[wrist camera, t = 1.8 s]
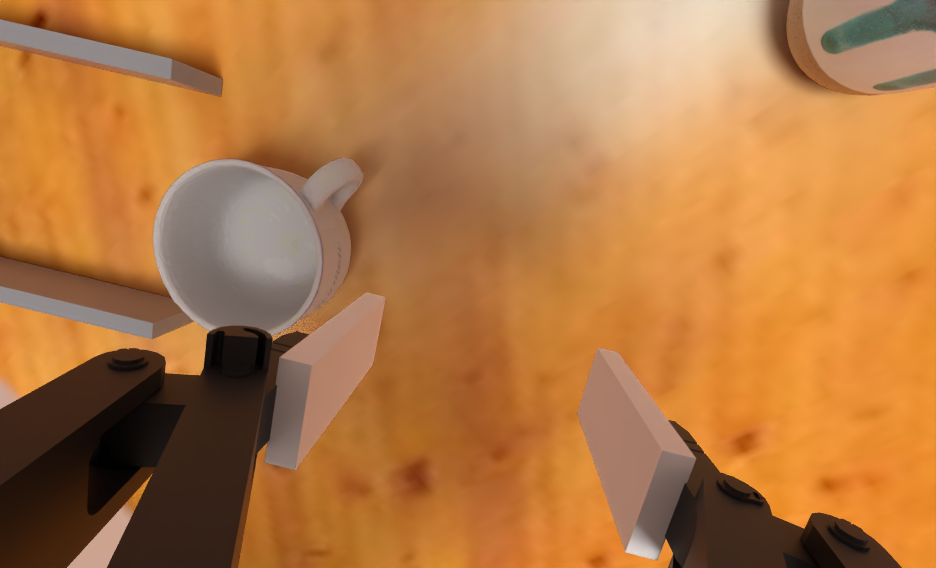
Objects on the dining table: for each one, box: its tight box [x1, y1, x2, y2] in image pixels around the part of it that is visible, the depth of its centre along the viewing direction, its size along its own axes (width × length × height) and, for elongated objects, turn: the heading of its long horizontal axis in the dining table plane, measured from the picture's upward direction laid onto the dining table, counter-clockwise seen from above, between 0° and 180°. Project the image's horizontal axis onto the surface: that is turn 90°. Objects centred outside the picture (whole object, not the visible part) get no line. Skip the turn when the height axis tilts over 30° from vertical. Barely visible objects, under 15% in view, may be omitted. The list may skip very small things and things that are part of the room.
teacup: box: [153, 158, 364, 336], centre depth 30 cm, size 14×11×8 cm
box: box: [0, 19, 223, 339], centre depth 31 cm, size 18×20×5 cm
